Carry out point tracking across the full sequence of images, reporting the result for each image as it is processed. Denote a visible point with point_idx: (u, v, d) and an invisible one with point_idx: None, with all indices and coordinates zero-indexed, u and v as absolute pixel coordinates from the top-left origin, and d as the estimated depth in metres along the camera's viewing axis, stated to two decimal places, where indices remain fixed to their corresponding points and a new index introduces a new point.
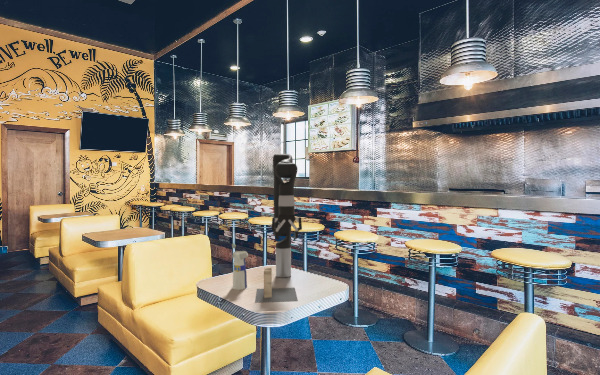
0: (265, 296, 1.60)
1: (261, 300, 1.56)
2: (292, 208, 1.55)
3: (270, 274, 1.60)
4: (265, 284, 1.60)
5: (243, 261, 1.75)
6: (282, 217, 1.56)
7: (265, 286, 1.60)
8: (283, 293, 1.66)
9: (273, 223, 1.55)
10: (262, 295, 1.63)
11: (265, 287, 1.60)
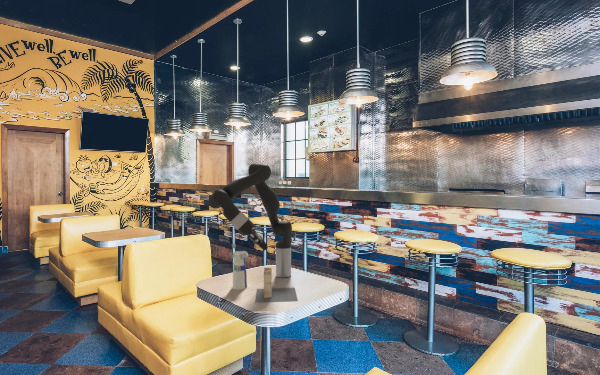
0: (265, 296, 1.60)
1: (261, 300, 1.56)
2: (240, 230, 1.55)
3: (270, 274, 1.60)
4: (265, 284, 1.60)
5: (243, 261, 1.75)
6: None
7: (265, 286, 1.60)
8: (283, 293, 1.66)
9: None
10: (262, 295, 1.63)
11: (265, 287, 1.60)
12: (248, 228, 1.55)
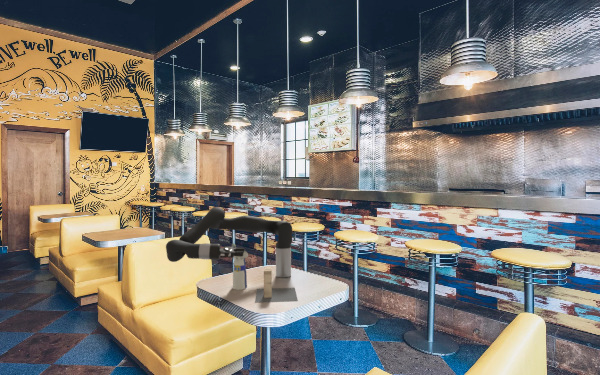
0: (265, 296, 1.60)
1: (261, 300, 1.56)
2: (211, 258, 1.57)
3: (270, 274, 1.60)
4: (265, 284, 1.60)
5: (243, 261, 1.75)
6: None
7: (265, 286, 1.60)
8: (283, 293, 1.66)
9: None
10: (262, 295, 1.63)
11: (265, 287, 1.60)
12: (216, 251, 1.56)
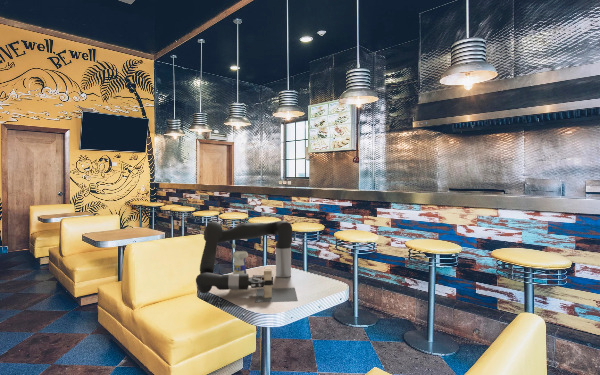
0: (265, 296, 1.60)
1: (261, 300, 1.56)
2: (241, 288, 1.60)
3: (270, 274, 1.60)
4: None
5: (243, 261, 1.75)
6: None
7: (265, 286, 1.60)
8: (283, 293, 1.66)
9: None
10: (262, 295, 1.63)
11: (265, 287, 1.60)
12: (245, 282, 1.59)
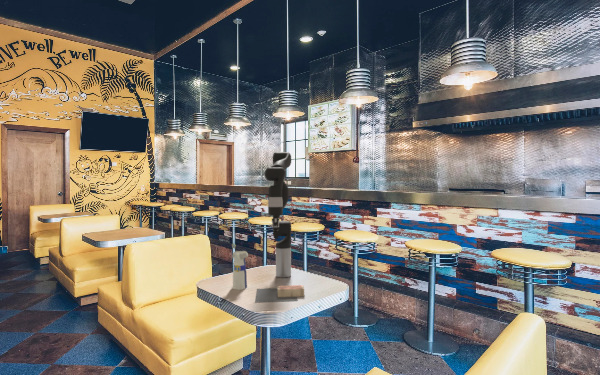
0: (278, 290, 1.61)
1: (261, 300, 1.56)
2: (270, 209, 1.69)
3: (300, 295, 1.62)
4: (290, 290, 1.61)
5: (243, 261, 1.75)
6: None
7: (288, 290, 1.61)
8: None
9: None
10: (262, 295, 1.63)
11: (287, 290, 1.61)
12: (277, 213, 1.68)
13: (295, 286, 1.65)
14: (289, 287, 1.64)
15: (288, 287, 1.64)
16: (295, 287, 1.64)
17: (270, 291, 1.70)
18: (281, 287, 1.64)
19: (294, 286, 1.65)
